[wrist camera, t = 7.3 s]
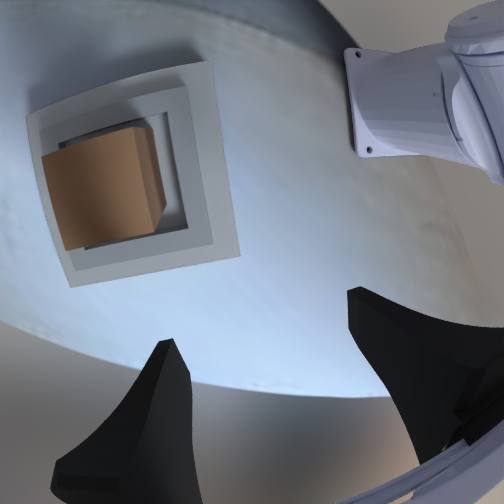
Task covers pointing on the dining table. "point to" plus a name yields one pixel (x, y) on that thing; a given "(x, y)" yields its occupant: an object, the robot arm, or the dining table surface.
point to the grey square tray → (171, 167)
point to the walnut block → (106, 187)
